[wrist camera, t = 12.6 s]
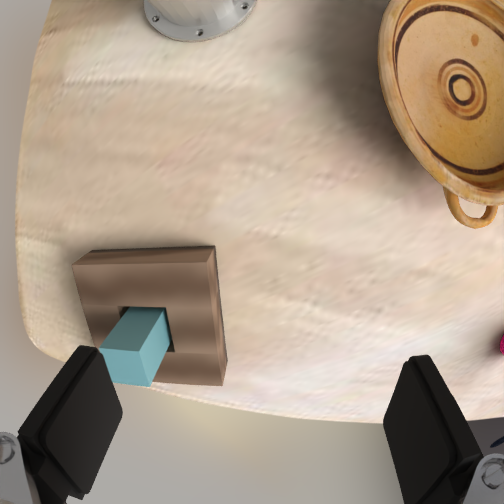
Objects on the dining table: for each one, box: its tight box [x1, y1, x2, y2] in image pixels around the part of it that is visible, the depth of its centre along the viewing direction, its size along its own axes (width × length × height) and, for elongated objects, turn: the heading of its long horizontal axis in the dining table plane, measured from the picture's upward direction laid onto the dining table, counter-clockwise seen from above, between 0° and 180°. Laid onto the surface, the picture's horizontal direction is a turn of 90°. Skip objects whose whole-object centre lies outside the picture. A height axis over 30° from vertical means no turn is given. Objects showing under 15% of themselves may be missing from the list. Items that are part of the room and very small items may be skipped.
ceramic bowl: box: [377, 0, 504, 229], centre depth 24 cm, size 30×24×8 cm
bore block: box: [72, 246, 227, 386], centre depth 37 cm, size 16×16×5 cm
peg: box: [99, 306, 172, 387], centre depth 33 cm, size 4×4×11 cm
